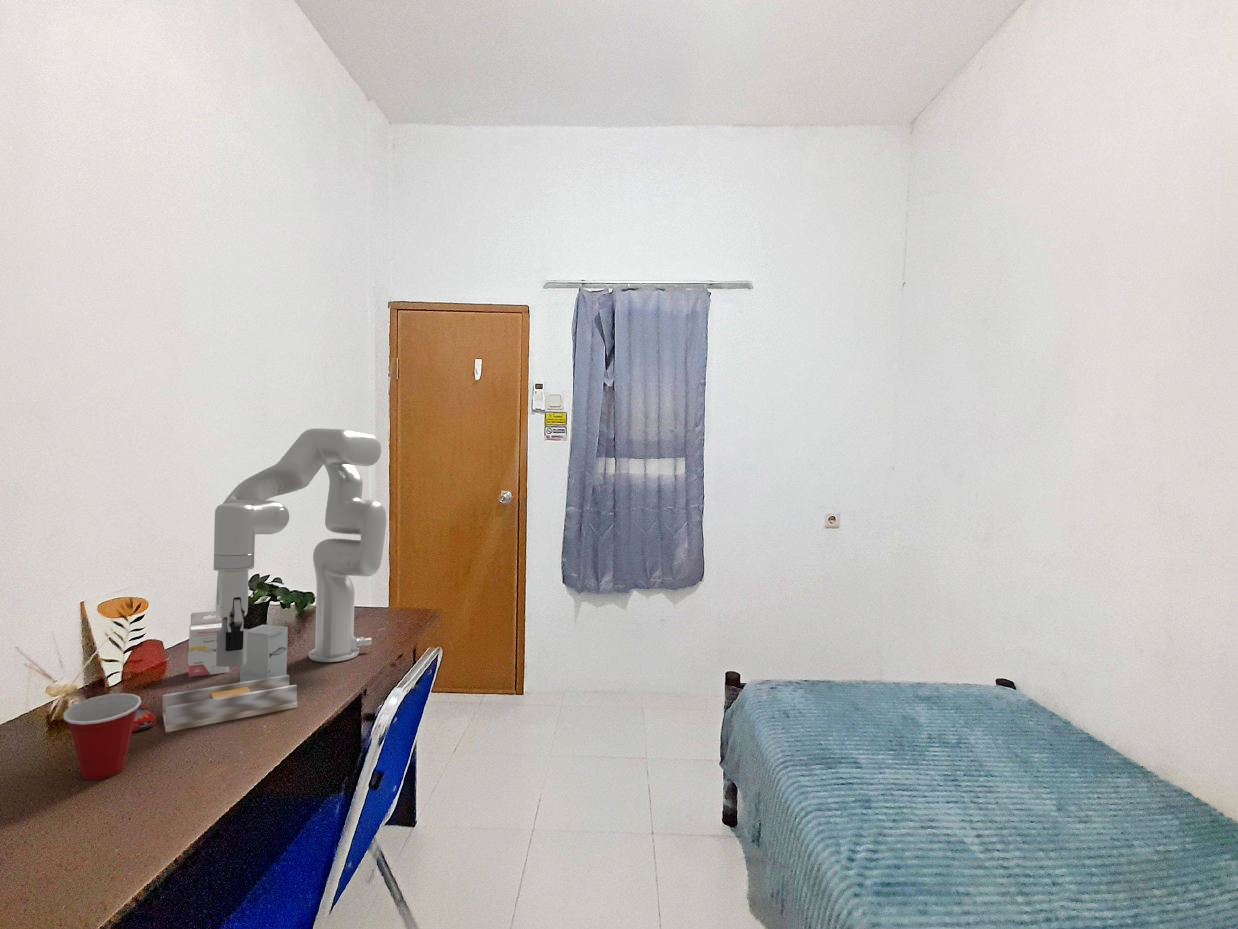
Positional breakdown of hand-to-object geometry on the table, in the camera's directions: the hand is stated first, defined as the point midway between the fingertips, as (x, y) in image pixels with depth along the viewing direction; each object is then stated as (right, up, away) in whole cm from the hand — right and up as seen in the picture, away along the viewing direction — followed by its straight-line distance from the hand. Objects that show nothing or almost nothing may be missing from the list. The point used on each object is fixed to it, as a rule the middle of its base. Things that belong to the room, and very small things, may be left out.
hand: (232, 645), depth 145 cm
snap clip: (0, -12, +1) cm, 12 cm away
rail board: (0, -14, +1) cm, 14 cm away
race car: (-17, -14, -7) cm, 23 cm away
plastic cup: (-7, -15, -27) cm, 32 cm away
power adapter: (0, -4, 0) cm, 4 cm away
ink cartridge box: (-19, -13, +23) cm, 32 cm away
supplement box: (-3, -14, +19) cm, 23 cm away
